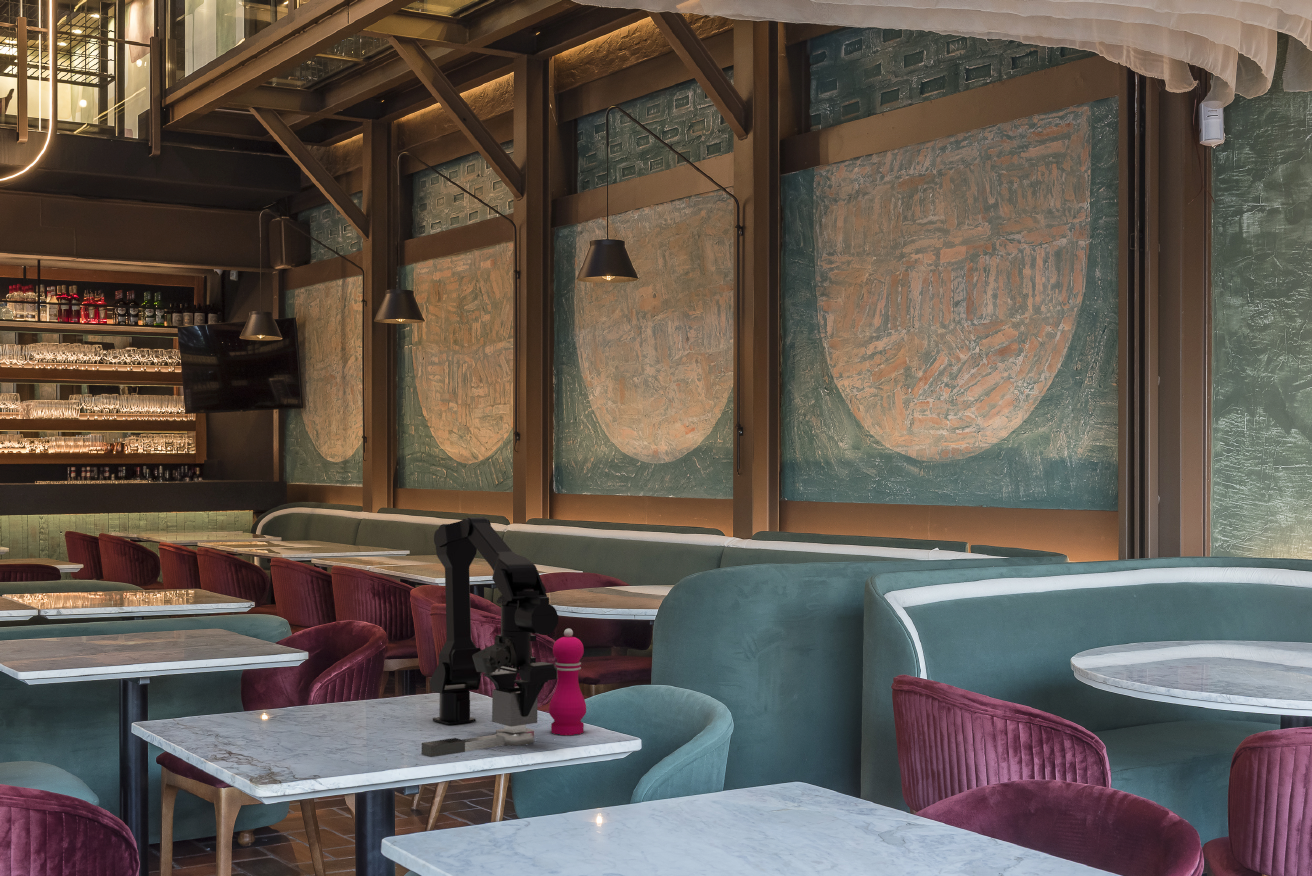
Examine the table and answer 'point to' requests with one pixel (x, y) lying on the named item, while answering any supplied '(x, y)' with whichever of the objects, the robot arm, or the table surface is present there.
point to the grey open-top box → (511, 708)
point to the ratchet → (480, 741)
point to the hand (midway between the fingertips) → (515, 714)
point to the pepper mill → (567, 687)
